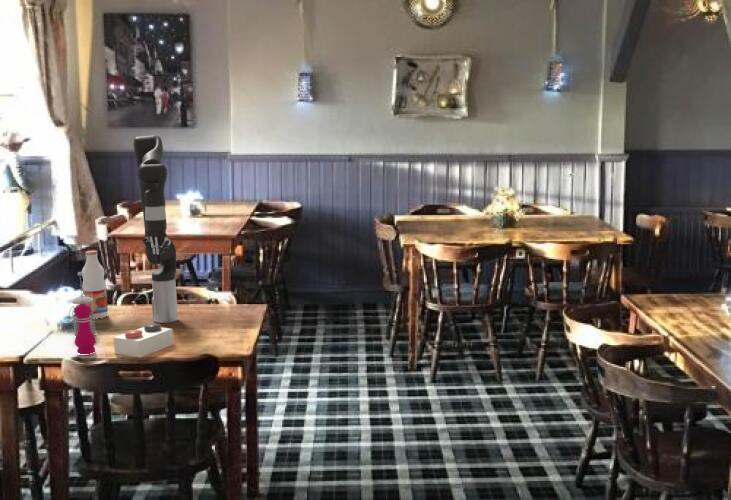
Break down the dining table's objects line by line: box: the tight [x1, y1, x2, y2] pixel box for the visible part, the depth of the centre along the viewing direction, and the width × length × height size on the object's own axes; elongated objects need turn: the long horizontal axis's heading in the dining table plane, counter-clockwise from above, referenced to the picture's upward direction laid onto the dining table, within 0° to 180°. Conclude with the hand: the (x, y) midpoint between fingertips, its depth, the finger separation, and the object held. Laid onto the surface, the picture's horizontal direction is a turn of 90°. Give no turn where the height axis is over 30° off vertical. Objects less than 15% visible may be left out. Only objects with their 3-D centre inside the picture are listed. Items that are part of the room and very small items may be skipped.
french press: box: [68, 271, 98, 336], centre depth 365 cm, size 10×12×25 cm
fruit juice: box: [81, 250, 109, 319], centre depth 393 cm, size 9×9×28 cm
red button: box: [124, 329, 142, 338], centre depth 340 cm, size 6×6×5 cm
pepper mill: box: [73, 300, 97, 354], centre depth 340 cm, size 7×7×20 cm
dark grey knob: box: [143, 322, 162, 332], centre depth 349 cm, size 6×6×5 cm
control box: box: [113, 326, 174, 358], centre depth 345 cm, size 12×18×6 cm, turn 151°
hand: (158, 263), depth 354 cm, fingers closed
